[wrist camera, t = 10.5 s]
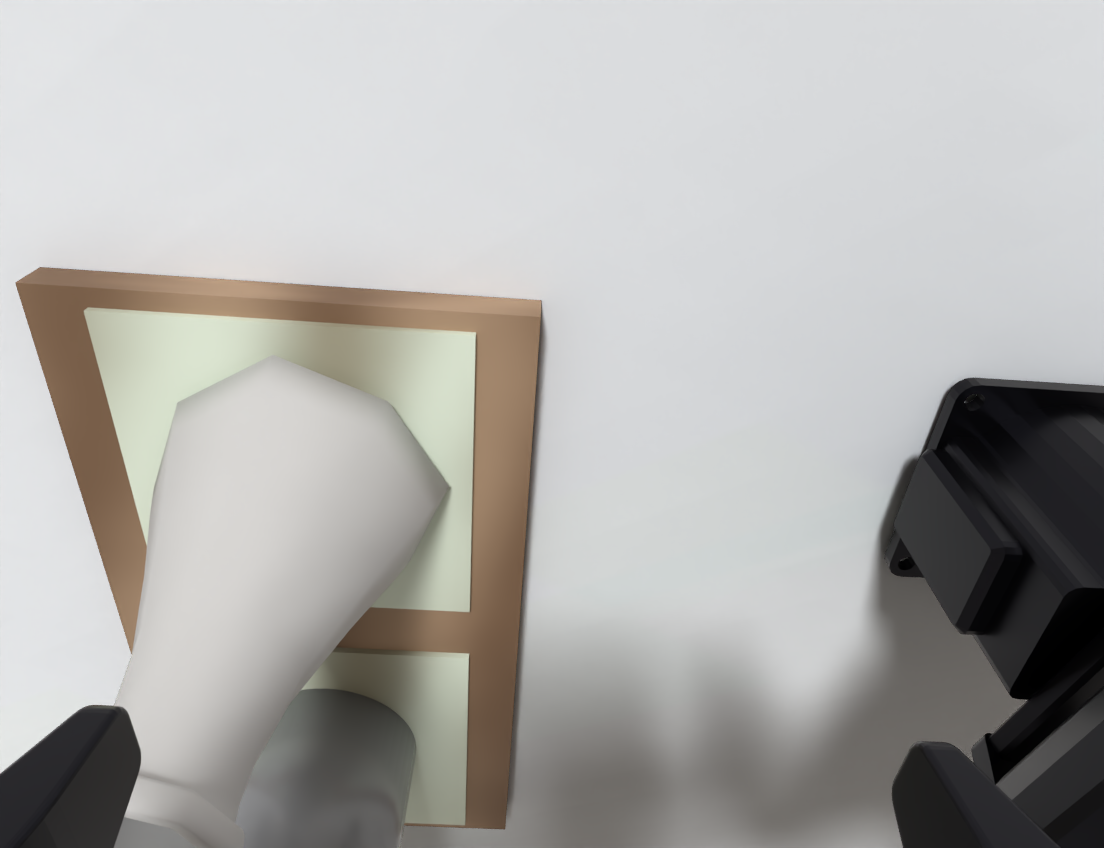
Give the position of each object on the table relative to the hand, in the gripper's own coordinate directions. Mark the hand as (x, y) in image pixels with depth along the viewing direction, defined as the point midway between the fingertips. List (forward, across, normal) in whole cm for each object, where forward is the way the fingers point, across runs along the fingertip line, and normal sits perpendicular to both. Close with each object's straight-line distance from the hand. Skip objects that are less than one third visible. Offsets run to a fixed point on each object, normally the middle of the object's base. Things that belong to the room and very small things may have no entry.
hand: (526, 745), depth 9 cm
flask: (+11, +6, +4) cm, 13 cm away
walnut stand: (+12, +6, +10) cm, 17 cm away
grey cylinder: (+11, +6, +16) cm, 20 cm away
